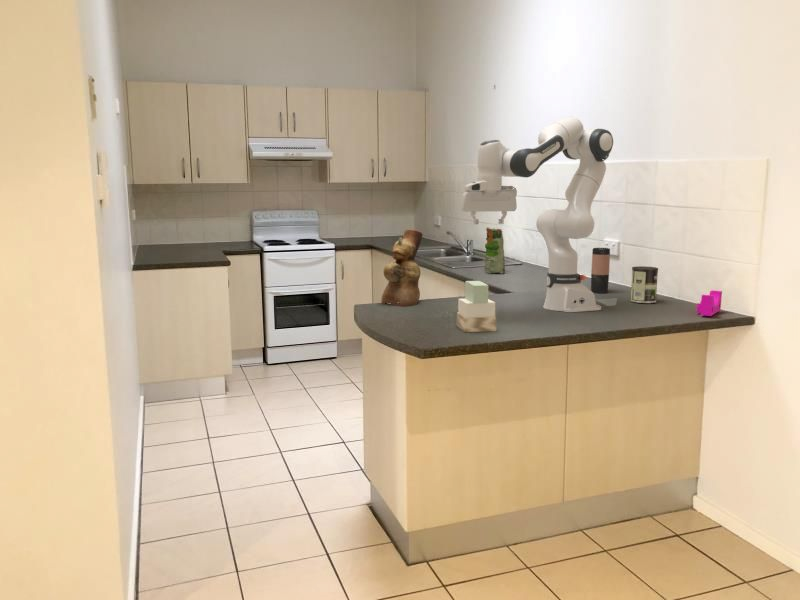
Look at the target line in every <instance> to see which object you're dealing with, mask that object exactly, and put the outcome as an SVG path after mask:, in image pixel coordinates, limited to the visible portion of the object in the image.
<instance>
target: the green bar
mask: <svg viewBox="0 0 800 600" xmlns="http://www.w3.org/2000/svg"><path fill="white" fill-rule="evenodd" d="M464 284H465V287H464V288H465V289H464V294H465V295H464V298H466V299H467V300H469V301H470V302H472V303H473V304H475V303H488V299H489V284H487V283H485V282H483V281H481V280H465V282H464Z"/></svg>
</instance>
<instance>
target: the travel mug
mask: <svg viewBox="0 0 800 600" xmlns="http://www.w3.org/2000/svg"><path fill="white" fill-rule="evenodd" d="M591 257H592V258H591V271H590V272H591V273H590V274H591V275H590V277H591V278H590V279H591V280H590V290H591V291H592V292H593V293H594V294H601V295H603V294H604V295H605V294H608V290H609V281H610V265H611V264H610V263H611V262H610V261H611V260H610V259H611V248H609V247H593V248H592V256H591Z"/></svg>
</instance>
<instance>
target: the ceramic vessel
mask: <svg viewBox="0 0 800 600" xmlns="http://www.w3.org/2000/svg"><path fill="white" fill-rule="evenodd" d="M422 238H423V232H422V231H419V230H415V229H406V230H404V232H403V236H402V237H398V240H397V241H396V242H394V245H393V247H392V256H393V257H392V258H393V260H392V261H390V262H389V263H387V264H385V266H384V267H383V276H384V278H385V279H386V280H387V281H388V283H387V285H386V287H385V288H384V291H383V293H382V294H381V298H380V299H381V304H382V305H385V304H384V303H391V305H390V306H394V307H410V306H415V305H417V304H418V303H419V301H420V297H421V291H420V287H419V281H420V278H421V268H420V266H419V265H418V263H416V262H415V260H416V259H415V258H416V256H417V253H418V250H419V249H420V245H421V243H422ZM397 302H399V303H397Z"/></svg>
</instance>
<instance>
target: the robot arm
mask: <svg viewBox="0 0 800 600" xmlns="http://www.w3.org/2000/svg"><path fill="white" fill-rule="evenodd" d="M537 142H538V145H537V146H535V147H534V148H529V147H528V148H521V149H510V148H508V147H507V146H505V145H504V144H503V143H502V142H501V140H498V139H492V140H485V141H483V142H482V143H480V144H479V147H478V151H477V170H478V171H477V172H478V173H477V176H476V177H477V179H476V181H473V182H471V183H467V184H466V185H464V192H463V193H462V195H461V196H462V197H461V204H460V208H461V211H462V212H464V213H465V212H470V216H471V218H472V219H473V225H479V219H477V218H476V215H477V212H478V213H479V212H482V213H483V212H485V213H486V212H501V215H502V216H501V218H498V224H499V225H504V223H505V222H504V221H505V219H506V217H507V215H508V212H515V211H516V210H517V207H518V205H517V193H518V190H517V188H516V187H515V186H513V185H502V183H503V182H502V181H503V177H508V178H509V177H510V178H512V177H516V178H517V177H518V178H519V177H520V178H531V177H533V175H534V174H536V173H537V172H538V170H539V169H540V167H541V166H542V165H544V163H546V162H548V161H549V160H550V159H552V158H553V157H555V156H557V155H558V154H560V153H561V152H562V153H563V155H564V156H565V158H567V159H569V160H573V161H574V160H579V164H578V165H579V166H578V168H577V170H576V171H575V173H574V175H572V176H573V177H572V178H571V180H570V182H569V183H568V186H567V188H566V190H565V192H564V195H565V198H566V199H565V200H567V202H568V204H567V207H566V208H565V209H555V208H554V209H552V208H551V209H547V210H544V211H541V212H540V213H539V214H538V215H537V218H536V222H535V223H536V229H537V231H538V232H539V234H541V236H542V237H543V240H544V241H545V243H546V244H545V245H546V249H547V253H548V272H547V275H546V287H547V288H546V293H545V300H544V303H543V306H542V308H544V309H545V310H551V311H554V312H555V311H557V312H559V311H560V312H565V313H579V312H581V313H582V312H592V311H601V310H602V306H601V305H600V304H597V302H596V295H595V293H593V292H592V291H591V289H589V287H587V286H586V285H585V284H583V283H582V281H585V280H586V279H587V276H586V275H584V274H579V273H578V259H579V257H578V252H577V251H576V250H575V249H574V248H573V247H572V245H571V243H570V239H572V240H579V239H584V238H588V237H589V236H590V235H592V233H593V232H594V230H595V229H594V228H595V220H594V217H593V216H592V214H591V207H592V204H593V202H594V199H595V197H596V195H597V193H598V191H599V189H600V187H601V185H602V182H603V180H604V177H605V174H606V171H607V164H606V162H605V161H606V160H608V158H609V156H610V154H611V152H612V150H613V145H614V138H613V135H612V133H611V132H610V131H609V130H608V129H606V128H605V129H604V128H596V129H591V128H590V129H584V125H583V123H582V121H581V120H580V119H579V118H577V117H574V116H570V117H566V118H562V119H559V120H557V121H554V122H552V123H550V124H548V125H547V126H546V127H544V128H542V130H540V132H539V134H538V138H537Z"/></svg>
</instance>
